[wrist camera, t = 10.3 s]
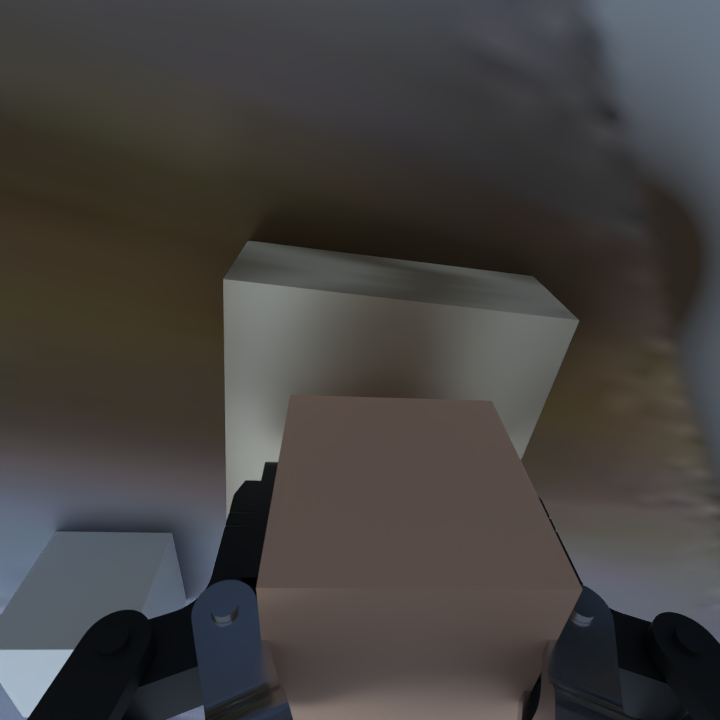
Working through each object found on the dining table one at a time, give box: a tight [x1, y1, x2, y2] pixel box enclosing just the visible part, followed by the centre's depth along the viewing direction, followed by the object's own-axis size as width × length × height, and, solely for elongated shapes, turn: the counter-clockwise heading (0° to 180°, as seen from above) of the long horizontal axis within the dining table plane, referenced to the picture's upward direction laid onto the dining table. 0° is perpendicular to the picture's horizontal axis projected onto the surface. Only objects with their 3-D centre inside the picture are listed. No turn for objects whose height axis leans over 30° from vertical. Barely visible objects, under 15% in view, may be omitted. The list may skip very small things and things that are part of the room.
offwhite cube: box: [0, 531, 187, 717], centre depth 21 cm, size 6×6×6 cm
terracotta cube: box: [256, 395, 583, 720], centre depth 11 cm, size 6×6×6 cm
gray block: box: [223, 241, 579, 518], centre depth 17 cm, size 10×10×4 cm
